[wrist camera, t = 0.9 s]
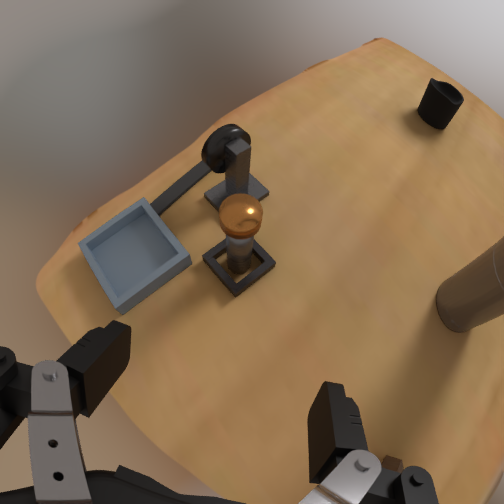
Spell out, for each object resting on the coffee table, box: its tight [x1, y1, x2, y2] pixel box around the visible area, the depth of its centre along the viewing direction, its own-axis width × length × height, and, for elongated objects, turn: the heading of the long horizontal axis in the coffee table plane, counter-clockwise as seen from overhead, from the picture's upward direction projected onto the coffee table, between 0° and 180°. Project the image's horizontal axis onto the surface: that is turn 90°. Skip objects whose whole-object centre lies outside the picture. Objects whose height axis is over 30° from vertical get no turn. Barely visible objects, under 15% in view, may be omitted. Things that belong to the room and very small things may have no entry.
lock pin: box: [219, 193, 263, 274], centre depth 37 cm, size 4×4×13 cm
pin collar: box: [202, 239, 276, 298], centre depth 42 cm, size 7×7×2 cm
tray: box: [78, 197, 192, 315], centre depth 41 cm, size 12×12×3 cm
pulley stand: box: [201, 124, 269, 212], centre depth 43 cm, size 8×7×12 cm
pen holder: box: [418, 78, 464, 129], centre depth 59 cm, size 9×9×10 cm
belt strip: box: [150, 160, 212, 216], centre depth 48 cm, size 14×2×1 cm, turn 141°
